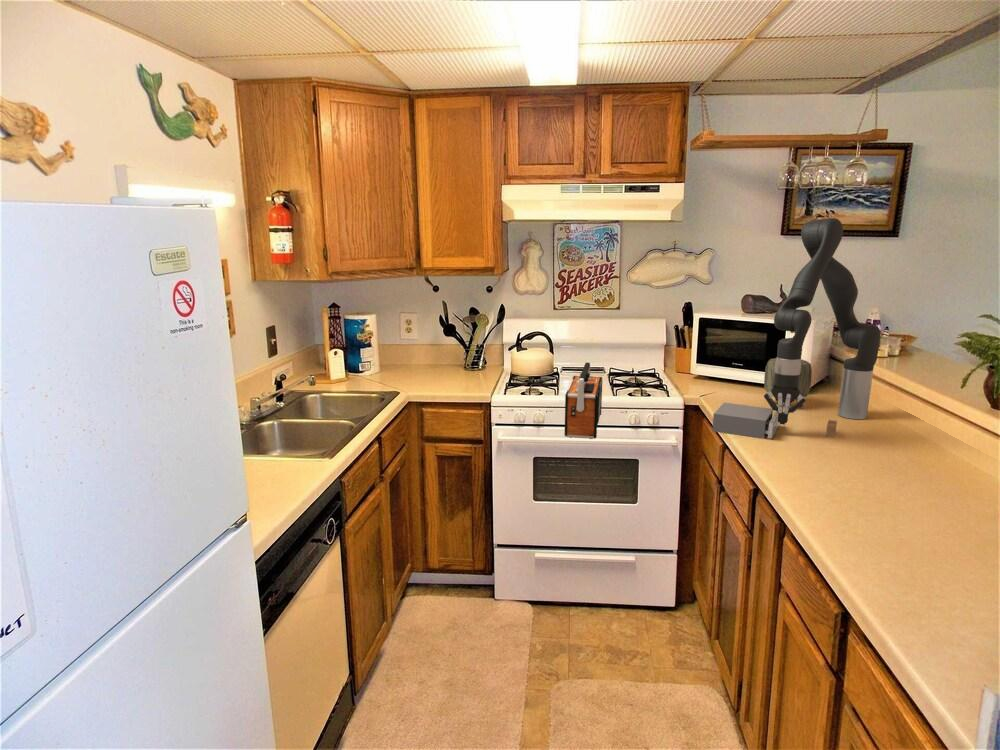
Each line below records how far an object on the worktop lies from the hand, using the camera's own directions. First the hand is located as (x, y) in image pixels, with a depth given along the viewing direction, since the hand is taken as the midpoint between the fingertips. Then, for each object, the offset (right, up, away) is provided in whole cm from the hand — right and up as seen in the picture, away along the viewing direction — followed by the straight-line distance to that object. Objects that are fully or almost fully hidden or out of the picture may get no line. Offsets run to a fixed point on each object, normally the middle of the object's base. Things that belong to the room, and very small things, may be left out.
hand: (782, 423), depth 209 cm
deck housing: (-10, -2, +7) cm, 13 cm away
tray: (-8, -2, +6) cm, 10 cm away
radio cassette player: (-63, -2, +8) cm, 64 cm away
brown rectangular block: (+16, -3, +1) cm, 17 cm away
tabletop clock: (+16, +4, +35) cm, 39 cm away
